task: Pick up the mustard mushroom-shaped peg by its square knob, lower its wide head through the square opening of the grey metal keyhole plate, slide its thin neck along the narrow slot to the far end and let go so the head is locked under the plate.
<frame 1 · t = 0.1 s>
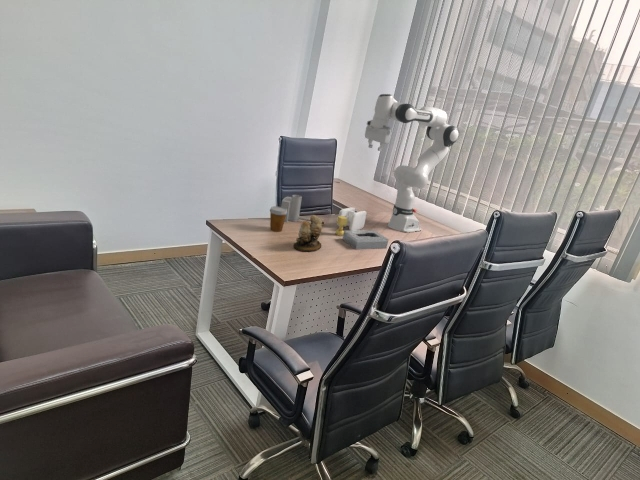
hand: (374, 149, 230), 48 cm above the table, tool pointing down, fingers open, 8 cm apart
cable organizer: (349, 228, 243), on the table
electronic device: (301, 222, 239), on the table
keyhole plate: (364, 243, 221), on the table
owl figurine: (307, 247, 204), on the table
peg: (339, 234, 229), on the table
disposable coffee cup: (276, 230, 220), on the table
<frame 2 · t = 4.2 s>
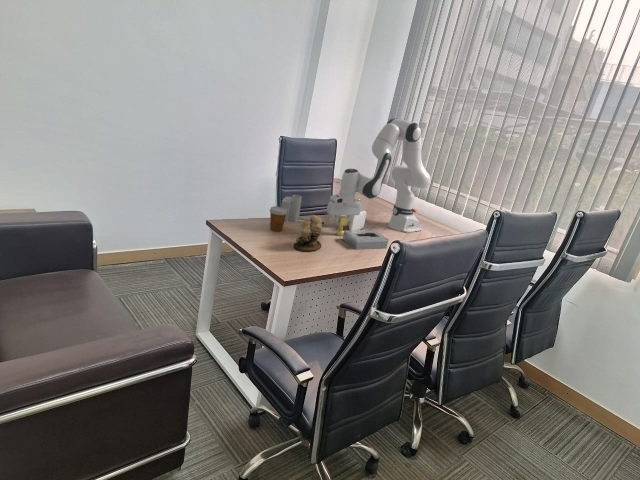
hand: (341, 222, 226), 8 cm above the table, tool pointing down, fingers closed on peg, 4 cm apart
peg: (339, 234, 229), on the table, touching gripper
everything else where it was.
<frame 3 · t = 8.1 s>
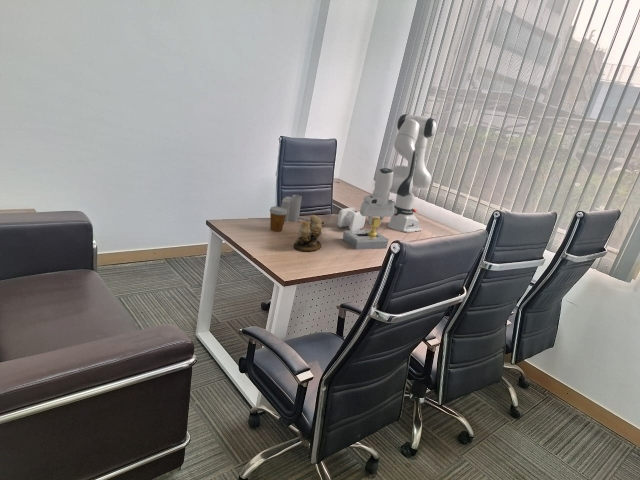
hand: (374, 223, 219), 12 cm above the table, tool pointing down, fingers closed on peg, 4 cm apart
peg: (371, 236, 222), point 4 cm above the table, touching gripper
everything else where it was.
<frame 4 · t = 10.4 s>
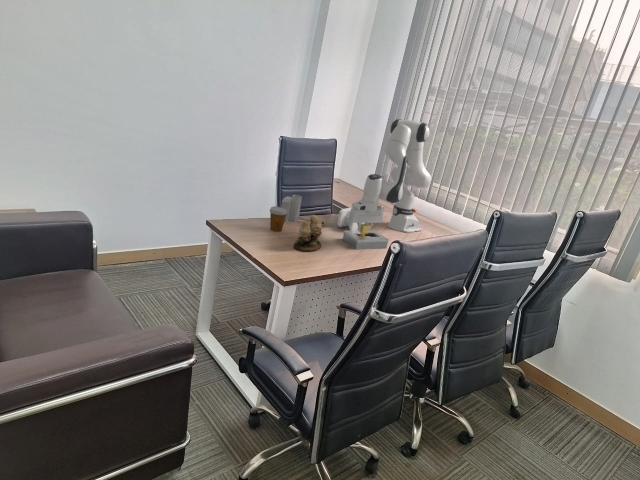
hand: (363, 230, 217), 8 cm above the table, tool pointing down, fingers closed on peg, 4 cm apart
peg: (361, 243, 220), point 1 cm above the table, touching gripper
everything else where it was.
when the fingers open (8 cm above the table, at t = 12.1 s): peg stays where it is, resting in keyhole plate.
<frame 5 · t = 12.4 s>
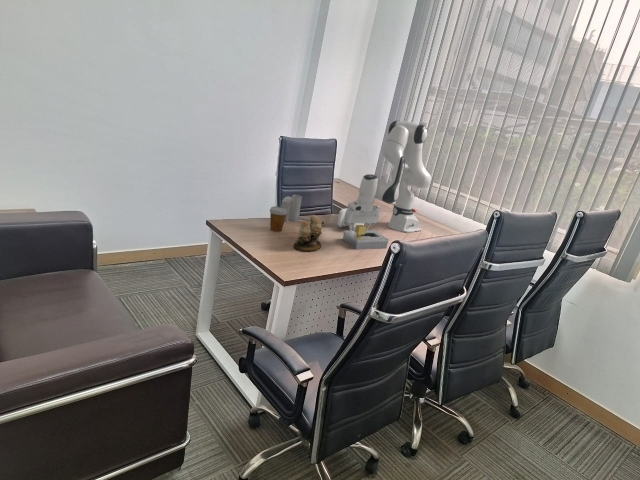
hand: (359, 230, 216), 8 cm above the table, tool pointing down, fingers open, 6 cm apart
peg: (357, 244, 219), resting in keyhole plate
everything else where it was.
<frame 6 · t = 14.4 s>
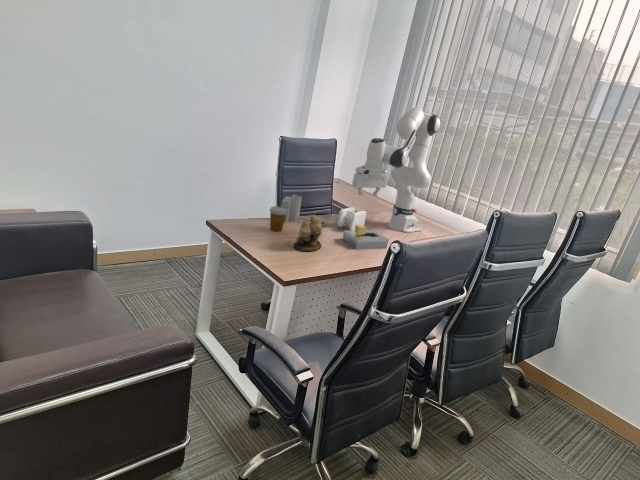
hand: (367, 195, 218), 26 cm above the table, tool pointing down, fingers open, 8 cm apart
nothing on the table moved.
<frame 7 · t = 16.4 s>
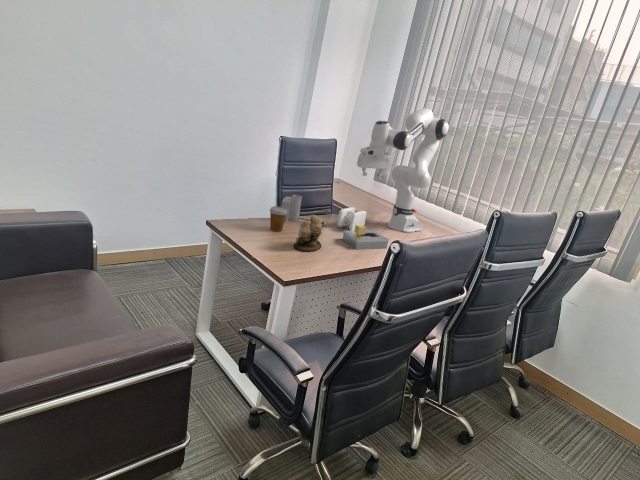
hand: (371, 176, 226), 34 cm above the table, tool pointing down, fingers open, 8 cm apart
nothing on the table moved.
at the end: peg 0.2 cm from the target spot on the keyhole plate, point 0.0 cm above the keyhole plate's base; peg tilted 0°; the gripper is holding nothing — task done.
